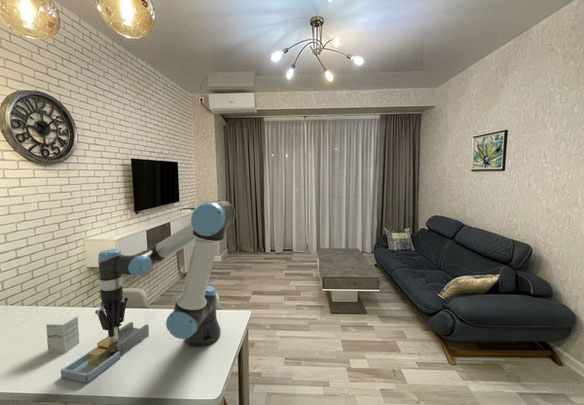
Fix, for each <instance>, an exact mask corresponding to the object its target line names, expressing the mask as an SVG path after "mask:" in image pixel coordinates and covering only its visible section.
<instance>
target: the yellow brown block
mask: <svg viewBox="0 0 584 405" xmlns="http://www.w3.org/2000/svg"><path fill="white" fill-rule="evenodd" d="M94 348H95V349H94ZM94 348H92V349H91V350H92V351H91V350H89V351H90V352H89V351H88V352H89V353H88V352H87V355H88V365H93V366H99V365H100V364H102V363H103V362H105V361H106V360H107V350H106V349H101V348H96V347H94Z"/></svg>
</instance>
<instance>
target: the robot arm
mask: <svg viewBox="0 0 584 405" xmlns="http://www.w3.org/2000/svg"><path fill="white" fill-rule="evenodd" d="M235 219H236V210H235V207H234V206H233V205H232V204H231V203H230V202H229V201H227V200H223V199H222V200H221V199H220V200H214V201H207V202H204V203H202V204H200V205H199V206H197V207H196V208H195V209H194V210H193V212H192V214H191V219H190V223H189V224H188V225H187V224H186V226H184V227H183V228H181V229H179V230H178V231H176V232H175V233H173V234H171V235H169V236H168V237H166V238H164V239H163V240H161V241H160V242H158V243H157V244H154V245H153V246H151V247H149V248H148V249H146V250H142V251H140V252H138V253H135V254H133V255H124V254H122V250H121V249H119V248H110V249H105V250H102V251H100V252H99V253H98V258H97V259H98V260H97V261H98V262H97V263H98V276H99V289H100V291H99V292H100V293H99V294H100V300H101V304H100V307H99V309H96V310H95V311H94V313H95V314H96V315H97V317H98V319H99V323H100V325H101V328H102V330H103V331H107V337H108V336H109V337H110V338H112V339H117V342H119V339H118V333H119V329H120V327H121V326H122V323H123V322H124V320H125V315H126V306H127V303H128V300H129V298H128V297H123V296H124V295H123V294H124V289H123V288H124V287H123V275H124V276H127V275H128V276H145V275H147V274H148V273H149V271H151V269H152V267H153V266H155V265H157V264H159V263H161V262H164V260H166V259H167V258H168V257H170V256H172V255H174V254H175V253H177V252H179V251H180V250H182V249H184V248H185V247H187V246H188V245H190V244H192V243H193V244H194V245H193V248H192V252H191V256H190V258H189V259H190V260H189V265H188V267H187V271H186V275H185V276H186V277H185V279H184V285H183V289H182V292H181V294H180V295H179V296H177V298H176V299H175V305H174V308H173V311H172V312H170V313H169V315H168V317H167V318H166V320H165V321H166V322H165V325H166V329H167V331H168V332H169V333H170V334H171V336H172V337H174V338H177V339H181V340H185V342H186V344H187V345H188V346H190V347H196V348H197V347H198V348H199V347H200V348H201V347H206V346H209V345H212V344H214V343H215V342H217V340H219V338H220V337H221V335H222V334H221V332H222V330H221V326H220V324H219V321H218V319H217V293H216V292H217V291H216V288H215V287H214V286H212V285H208V284H209V280H210V277H211V272H212V268H213V264H214V261H215V257H216V252H217V249H218V245H219V243H221V241H224V237H225V234H226V230H227V227H230V226H231V224H233V222H234V221H235Z"/></svg>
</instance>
